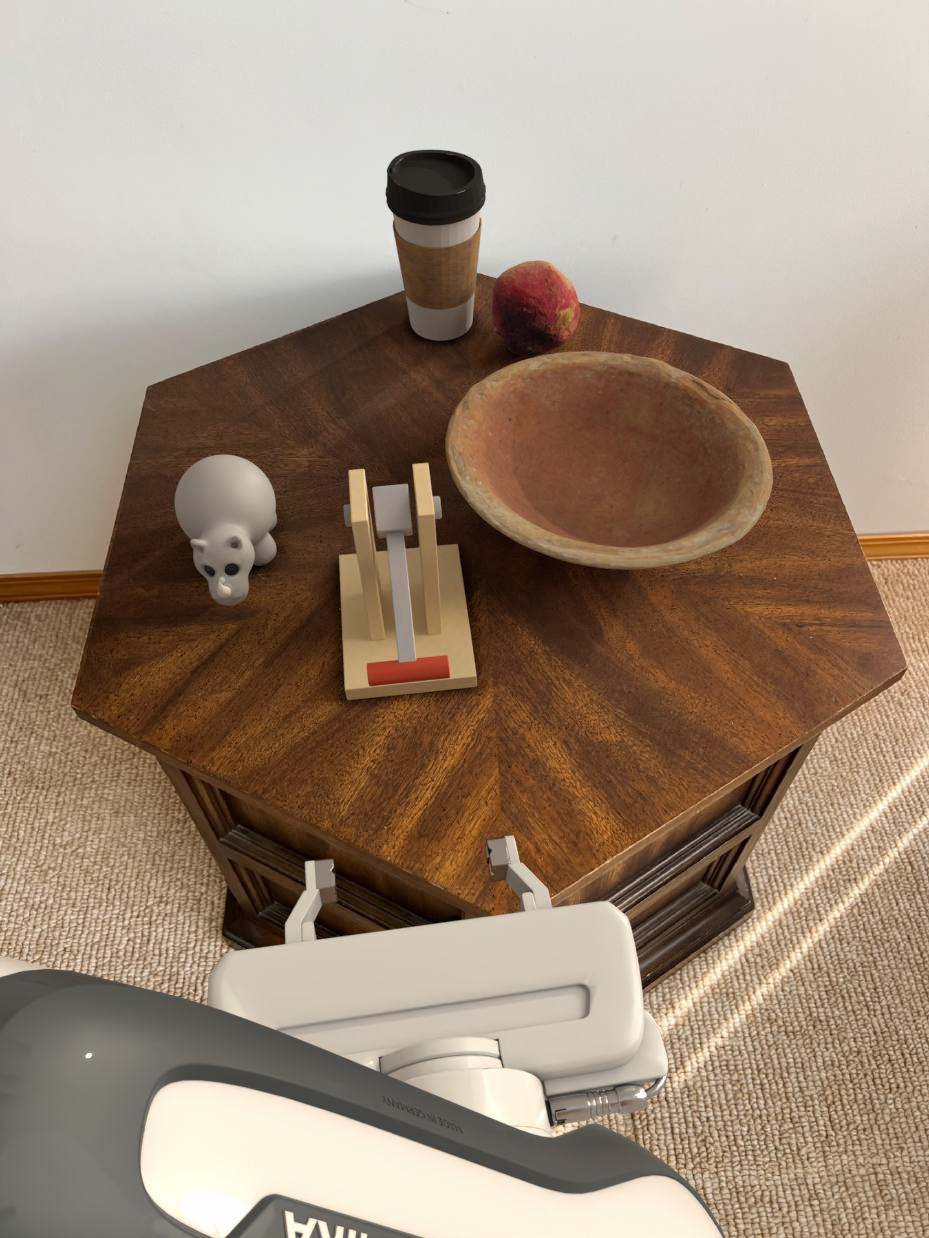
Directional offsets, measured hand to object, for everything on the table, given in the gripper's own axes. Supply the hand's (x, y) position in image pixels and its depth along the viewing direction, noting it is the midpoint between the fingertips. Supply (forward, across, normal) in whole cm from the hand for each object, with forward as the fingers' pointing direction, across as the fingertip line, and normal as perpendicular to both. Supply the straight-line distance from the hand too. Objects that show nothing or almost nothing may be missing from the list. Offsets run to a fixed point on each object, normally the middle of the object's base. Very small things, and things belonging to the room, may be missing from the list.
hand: (410, 852), depth 49 cm
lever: (+17, -1, -2) cm, 18 cm away
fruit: (+51, -17, +3) cm, 54 cm away
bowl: (+30, -18, +4) cm, 35 cm away
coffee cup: (+56, -10, +3) cm, 57 cm away
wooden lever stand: (+22, -2, +6) cm, 23 cm away
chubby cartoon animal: (+29, +10, +7) cm, 31 cm away
